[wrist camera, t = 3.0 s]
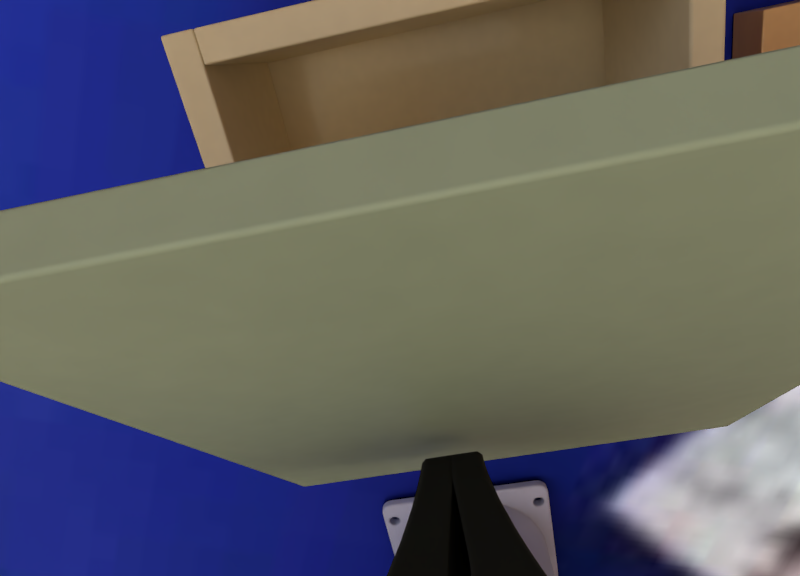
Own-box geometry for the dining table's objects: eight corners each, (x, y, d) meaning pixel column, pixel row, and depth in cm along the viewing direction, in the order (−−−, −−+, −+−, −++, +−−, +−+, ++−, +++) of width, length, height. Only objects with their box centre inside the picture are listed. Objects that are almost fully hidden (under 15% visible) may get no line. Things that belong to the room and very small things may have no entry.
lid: (-161, 241, 5) (-193, 317, 5) (1385, -80, 4) (1501, -10, 3) (302, 459, 17) (303, 487, 17) (718, 398, 16) (728, 426, 15)
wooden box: (244, 43, 19) (159, 35, 12) (616, -43, 17) (730, -98, 11) (334, 355, 23) (305, 463, 17) (630, 305, 22) (714, 403, 16)
